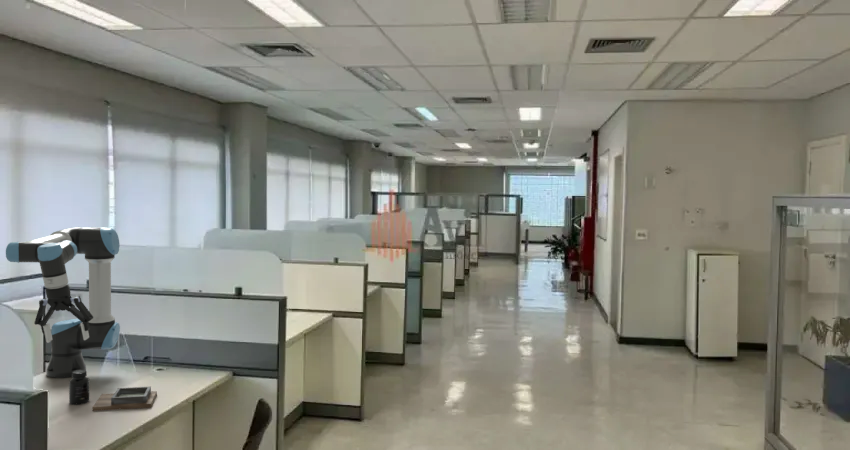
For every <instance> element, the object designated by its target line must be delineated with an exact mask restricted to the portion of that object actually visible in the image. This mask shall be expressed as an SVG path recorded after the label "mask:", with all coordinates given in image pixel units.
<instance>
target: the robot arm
mask: <svg viewBox="0 0 850 450" xmlns="http://www.w3.org/2000/svg"><path fill="white" fill-rule="evenodd" d="M119 252H120V239H119V235H118V232H117V231H116V230H115V229H114V228H111V227H104V226H102V227H98V226H97V227H96V226H95V227H93V226H91V227H90V226H88V227H87V226H83V227H82V226H76V227H69V228H63V229H60V230H57V231H53V232H51V233H50V235H47V236H44V237H39V238H35V239H32V240H26V241H14V242H13V241H12V242H9V243H8V244H7V246H6V247H5V257H6V259H7V261H8V262H10V263H18V264H19V263H39V266H40V270H41V275H42V280H43V284H44V287H45V290H44V291H45V295H46V298H45V297H44V298H42V299H40V300H39V302H38V305H39V306H38V310H37V313H36V316H35V320H34V325H38V326H40V329H41V332H42V334H44V337H45V341H46V343H47V344H49V343H50V349H51V350H50V351H51V352H50V353H51V355H50V360H49V362H48V365H47V367H46V376H47V377H49V378H55V379H56V378H57V379H59V378H72V372H73V371H76V370H86V371H87V366H86V365H87V364H86V363H85V360H84V359H85V358H84V356H83V354H82V351H83V350H101V351H102V350H110V349H113V348H114V347H115V346H116V345H117V342H118V340H119V336H120V331H121V326H120V323H119V322H118V321H117V322H116V318H115V316H114V315H112V286H111V285H112V274H111V273H112V266H111V265H112V261H113V260H115V256H116V255H117V254H119ZM76 255H84V260H86V261H87V262H88V308H87V306H86V305H85V304H84V303H83V300H82V298H81V296H79V295H77V296H76V297H72V296H71V290H70V289H71V288H70V284H68V283H69V279H68V274H67V269H66V264H67V263H69V262H70V261H72V260H73V259H74V258H75V257H76ZM47 305H49V306H50V307H49V308H48V310H47V312H46V314H45V311H46V308H47ZM55 311H56V312H59V311H67V312H69V313H71V314H72V315H73V316H74V317H75V318H72V319H65V320H61V321H57V322H55V323H54V324H52V326H50V323H49V322H48V321H49V320H50V318H51V317H52V315H53V314H54V312H55ZM44 314H45V315H44Z"/></svg>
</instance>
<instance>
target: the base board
mask: <svg viewBox="0 0 850 450" xmlns="http://www.w3.org/2000/svg"><path fill="white" fill-rule="evenodd" d="M157 396H158V393H157V391H156V390H155V391H152V386H134V387H118V388H117V389H116V390H115V392H112V393H110V392H109V393H101V394H100V396H99V397H98V399H97V400H96V401H95V403H94V404H93V405H92V408H91V410H92V412H95V411H96V412H97V411H98V412H99V411H112V410H113V411H116V410H133V409H134V410H135V409H150V408H152V406H153V404H154V402H155V400H156V398H157Z"/></svg>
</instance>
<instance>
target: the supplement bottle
mask: <svg viewBox="0 0 850 450" xmlns="http://www.w3.org/2000/svg"><path fill="white" fill-rule="evenodd" d="M87 373H88V372H87V369H86V370H76V371H73V372H72V377H71V379H70V380H69V383H68V389H69V390H68V393H69V394H68V398H69V399H68V402H69V404H70V405H74V406H75V405H76V406H79V405H85V404H88V402H89V401H90V378H89V377H87V375H88V374H87Z"/></svg>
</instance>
